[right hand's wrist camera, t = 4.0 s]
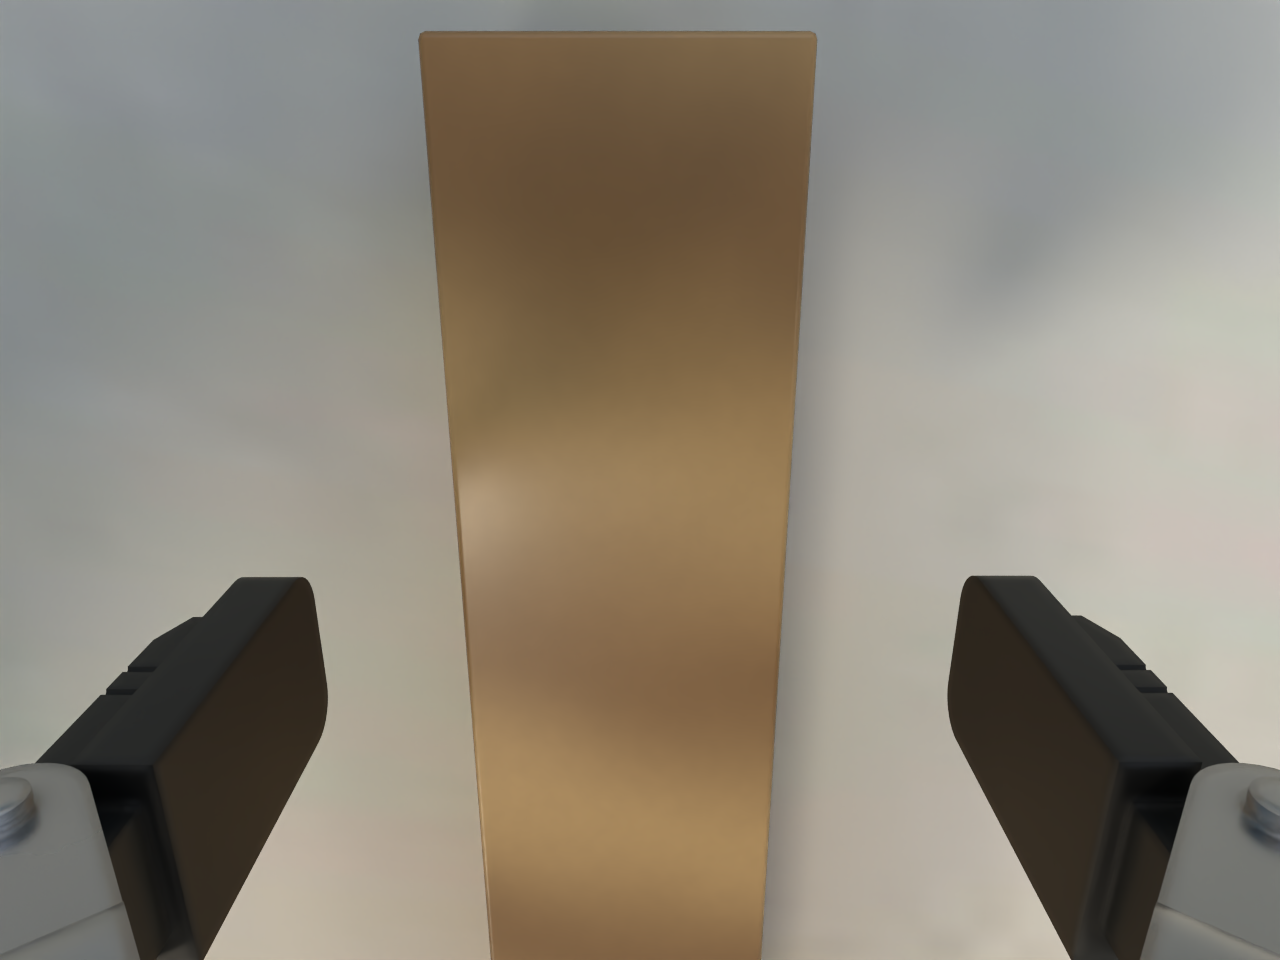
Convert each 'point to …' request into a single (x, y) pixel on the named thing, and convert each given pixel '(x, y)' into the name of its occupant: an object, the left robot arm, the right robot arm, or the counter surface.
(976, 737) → the right robot arm
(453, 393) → the beam
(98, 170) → the counter surface
